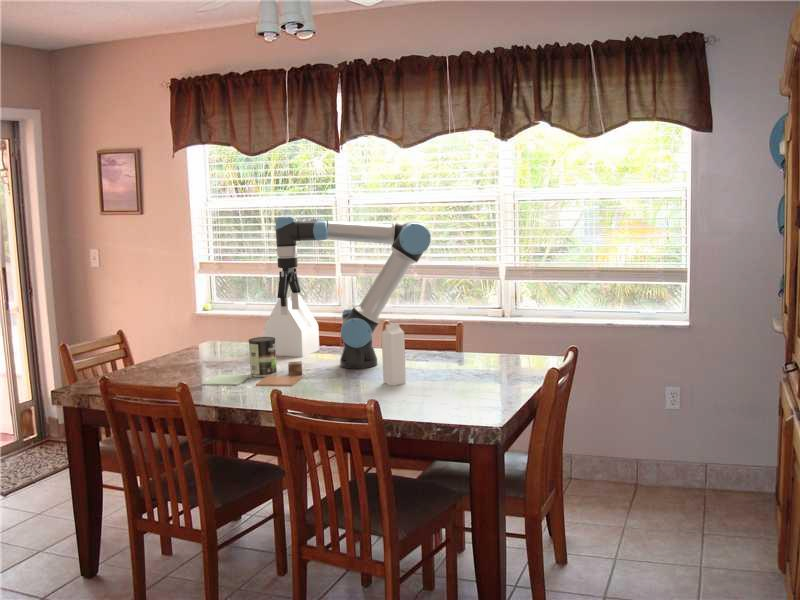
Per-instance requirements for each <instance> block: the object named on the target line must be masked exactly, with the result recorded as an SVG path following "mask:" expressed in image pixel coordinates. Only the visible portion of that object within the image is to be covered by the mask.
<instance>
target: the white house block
mask: <svg viewBox="0 0 800 600" xmlns="http://www.w3.org/2000/svg"><path fill="white" fill-rule="evenodd" d="M298 297H299V310H292V301H291V295H290V296H289V297H287V298H288V314H289V315H281V306H280V298H277V301H276V303H275V305H274V307H273V309H272V311H271V313H270V315H269V317H268V318H267V321H266V323H265V325H264V327H263V328H262V332H263V336H262V337H274V338H275V348H276V356H280V357H282V356H284V357H296V358H299V357H301V358H303V357H306V356H308V355H310V354H311V355H312V354H313V353H316V352H318V351H320V334H319V333H320V330H319V329H320V328H319V324H318V322H317V320H316V319H315V317H314V315H313V314H312V313H311V310H310V309H309V307H308V306H307V304H306V303H305V301H304V299H303V298H302V296H301V295H300V294H298Z"/></svg>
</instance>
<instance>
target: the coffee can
mask: <svg viewBox="0 0 800 600" xmlns="http://www.w3.org/2000/svg"><path fill="white" fill-rule="evenodd" d="M248 345H249V346H248V347H249V361H250V362H249V363H250V375H251V377H254V378H255V377H256V378H265V377H267V376H268V375H277V373H278V370H277V355H276V348H275V338H274V337H263V336H258V337H252V338H249V339H248Z"/></svg>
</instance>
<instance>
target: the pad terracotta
mask: <svg viewBox="0 0 800 600" xmlns="http://www.w3.org/2000/svg"><path fill="white" fill-rule="evenodd" d="M303 378H304V375H302V376H291V375H289V374H288V375H284V374H283V375H281V374H279V375H277V374H276V375H268V376H267V377H263V378H262V379H261V380H259V381H258V382H257V383H255V386H259V387H264V386H265V387H267V386H268V387H294V385H296V384H297V383H299V381H300V380H302V379H303Z"/></svg>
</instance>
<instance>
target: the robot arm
mask: <svg viewBox="0 0 800 600" xmlns="http://www.w3.org/2000/svg"><path fill="white" fill-rule="evenodd" d="M431 236H432V235H431V232H430V230H429V228H428V227H427V226H426V225H424V224H423V223H421V222H418V221H407V222H393V223H392V224H385V223H384V224H383V223H366V222H355V221H354V222H352V221H337V220H322V219H321V220H320V219H311V220H306V221H298V220H296V217H295V216H278V217H276V219H275V239H276V240H275V241H276V249H275V252H276V253H277V254H276V255H277V257H278V258H277V268H279V269H282V271H279V276H278V277H279V279H278V291H277V299H280V306H281V315H289V314H288V298H289V297H287V296H288V292H289V287H290V290H291V293H290V296H291V301H292V310H299V297H298V295H299V293H301V288H300V283H299V278H298V277H299V276H298V273H297V267H298V258H297V256H298V246H297V242H313V241H314V242H315V241H317V242H319V241H321V242H322V241H326V240H328V241H329V240H330V241H342V242H359V243H369V244H370V243H374V244H375V243H376V244H384V245H385V244H388V245H391V251H392V252H391V254H390V255H389V257H388V259H387V261H386V262H385V263H384V265H383V267H382V268H381V270H380V272H379V273H378V275H377V277H376V278H375V279H374V281H373V283H372V285H371V286H370V287H369V289H368V290H367V292H366V294H365V296H364V297H363V298H362V300H361V302H360V303H359V304H358V305H354V306H353V307H352V309H349V308H348V309H344V310H342V315H341V318H342V325H341V327H340V337H341V339H342V340H343V348H342V352H341V356H340V360H339V366H340V367H341V368H344V369H367V368H372V367H376V366H378V357H377V355H376V351H375V348H374V345H373V334H374V332H375V330H376V328H377V327H378V326H379V325H380V315H381V313H382V312H383V310H384V308H385V307H386V306H387V304H388V302H389V301H390V299H391V297H392V295H393V294H394V293H395V291H396V290H397V288H398V286H399V284H400V283H401V281H402V280H403V278H404V276H405V275H406V273H407V272H408V270H409V269H410V267H411V266H412V265H413V264H417V263H418V262H419V261H420V259H421V257H422V255H423V254H424V252H426V251H427V250H428V248H429V247H430V245H431V242H432V241H431V240H432V237H431Z"/></svg>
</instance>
